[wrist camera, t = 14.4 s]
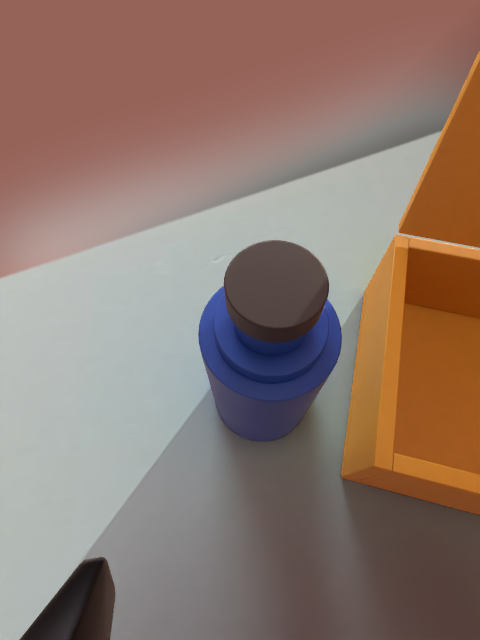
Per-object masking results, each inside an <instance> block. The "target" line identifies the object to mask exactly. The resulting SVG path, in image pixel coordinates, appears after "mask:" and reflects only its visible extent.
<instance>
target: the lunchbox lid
mask: <svg viewBox="0 0 480 640" xmlns="http://www.w3.org/2000/svg"><path fill="white" fill-rule="evenodd" d="M399 233H404V234H409V235H414V236H420V237H425V238H431V239H436V240H442V241H447V242H453V243H458V244H463V245H469V246H474V247H480V51H479V53H478V55H477V57H476V59H475V62H474V64H473V66H472V68H471V70H470V72H469V75H468V77H467V79H466V81H465V83H464V85H463V87H462V90H461V92H460V94H459V96H458V98H457V100H456V102H455V105H454V107H453V109H452V111H451V113H450V116H449V118H448V120H447V122H446V124H445V126H444V128H443V131H442V133H441V135H440V137H439V139H438V141H437V143H436V146H435V148H434V150H433V152H432V154H431V156H430V159H429V161H428V163H427V165H426V167H425V169H424V171H423V174H422V176H421V178H420V180H419V182H418V184H417V187H416V189H415V191H414V193H413V195H412V197H411V199H410V202H409V204H408V206H407V208H406V210H405V212H404V215H403V217H402V219H401V221H400V223H399Z"/></svg>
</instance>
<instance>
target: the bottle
mask: <svg viewBox="0 0 480 640" xmlns="http://www.w3.org/2000/svg"><path fill="white" fill-rule="evenodd" d="M328 293H329V281H328V277H327V273H326V271H325V269H324V267H323V265H322V263H321V262H320V261H319V260H318V258H317V257H316V256H315V255H314V254H312V253H311V252H310V251H309V250H307V249H305V248H304V247H302V246H299V245H297V244H294V243H291V242H287V241H280V240H270V241H263V242H259V243H255V244H253V245H251V246H248V247H247V248H245V249H243V250H242V251H241V252H239V253H238V254H237V255H236V256H235V257H234V258H233V260H232V261H231V262H230V264H229V266H228V268H227V270H226V273H225V278H224V286H223V287H222V288H220V289H219V290H218V291H217V292H216V293H215V294H214V295H213V297H212V298H211V299H210V301H209V302H208V304H207V305H206V307H205V309H204V311H203V314H202V316H201V320H200V324H199V345H200V350H201V353H202V357H203V360H204V364H205V367H206V371H207V374H208V378H209V381H210V385H211V388H212V392H213V395H214V399H215V402H216V406H217V409H218V412H219V414H220V416H221V418H222V419H223V421H224V422H225V424H226V425H227V426H228V427H229V428H230V429H231V430H232V431H233V432H235V433H236V434H238V435H239V436H242V437H244V438H246V439H249V440H253V441H272V440H276V439H279V438H281V437H283V436H285V435H287V434H288V433H290V432H291V431H292V430H293V429H294V428H295V427H296V426H297V425H298V424H299V423H300V421H301V420H302V418H303V417H304V415H305V413H306V412H307V410H308V409H309V407H310V405H311V404H312V402H313V401H314V399H315V397H316V396H317V394H318V393H319V391H320V389H321V388H322V386H323V385H324V383H325V381H326V380H327V378H328V377H329V375H330V373H331V372H332V370H333V368H334V366H335V365H336V363H337V360H338V357H339V354H340V350H341V341H342V335H341V327H340V323H339V319H338V317H337V314H336V312H335V310H334V308H333V306H332V305H331V303H330V302H329V301H328V299H327V297H328Z"/></svg>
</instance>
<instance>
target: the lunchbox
mask: <svg viewBox="0 0 480 640" xmlns="http://www.w3.org/2000/svg"><path fill="white" fill-rule="evenodd" d="M341 478H343V479H347V480H351V481H355V482H358V483H362V484H366V485H370V486H373V487H377V488H381V489H384V490H388V491H392V492H396V493H399V494H403V495H407V496H411V497H414V498H418V499H422V500H426V501H429V502H433V503H437V504H440V505H444V506H448V507H452V508H455V509H459V510H463V511H467V512H470V513H474V514H478V515H480V250H477V249H472V248H466V247H461V246H456V245H450V244H445V243H439V242H434V241H429V240H423V239H418V238H412V237H410V238H409V237H407V236H402V235H395V236H394V238H393V240H392V242H391V244H390V246H389V247H388V249H387V251H386V253H385V255H384V257H383V258H382V260H381V262H380V264H379V266H378V268H377V269H376V271H375V273H374V275H373V277H372V279H371V280H370V282H369V284H368V286H367V288H366V290H365V292H364V298H363V305H362V313H361V321H360V329H359V337H358V344H357V352H356V360H355V368H354V376H353V383H352V391H351V399H350V407H349V415H348V422H347V430H346V438H345V446H344V454H343V461H342V469H341Z"/></svg>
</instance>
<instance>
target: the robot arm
mask: <svg viewBox="0 0 480 640" xmlns="http://www.w3.org/2000/svg"><path fill="white" fill-rule="evenodd" d="M114 603H115V587H114V583H113V580H112V576H111V573H110V569H109V566H108V562H107V560H106V559H105V558H104V557H99V558H93V559H87V560H84V561H83V562H82V563H81V564H80V565H79V566H78V567H77V569H76V570H75V571H74V572H73V574H72V575H71V576H70V577H69V579H68V580H67V581H66V582H65V584H64V585H63V586H62V587H61V589H60V590H59V591H58V592H57V594H56V595H55V596H54V597H53V599H52V600H51V601H50V602H49V604H48V605H47V606H46V607H45V609H44V610H43V611H42V612H41V614H40V615H39V616H38V617H37V619H36V620H35V621H34V622H33V624H32V625H31V626H30V627H29V629H28V630H27V631H26V632H25V634H24V635H23V636H22V637H21V639H20V640H110V635H111V627H112V619H113V611H114Z"/></svg>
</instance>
